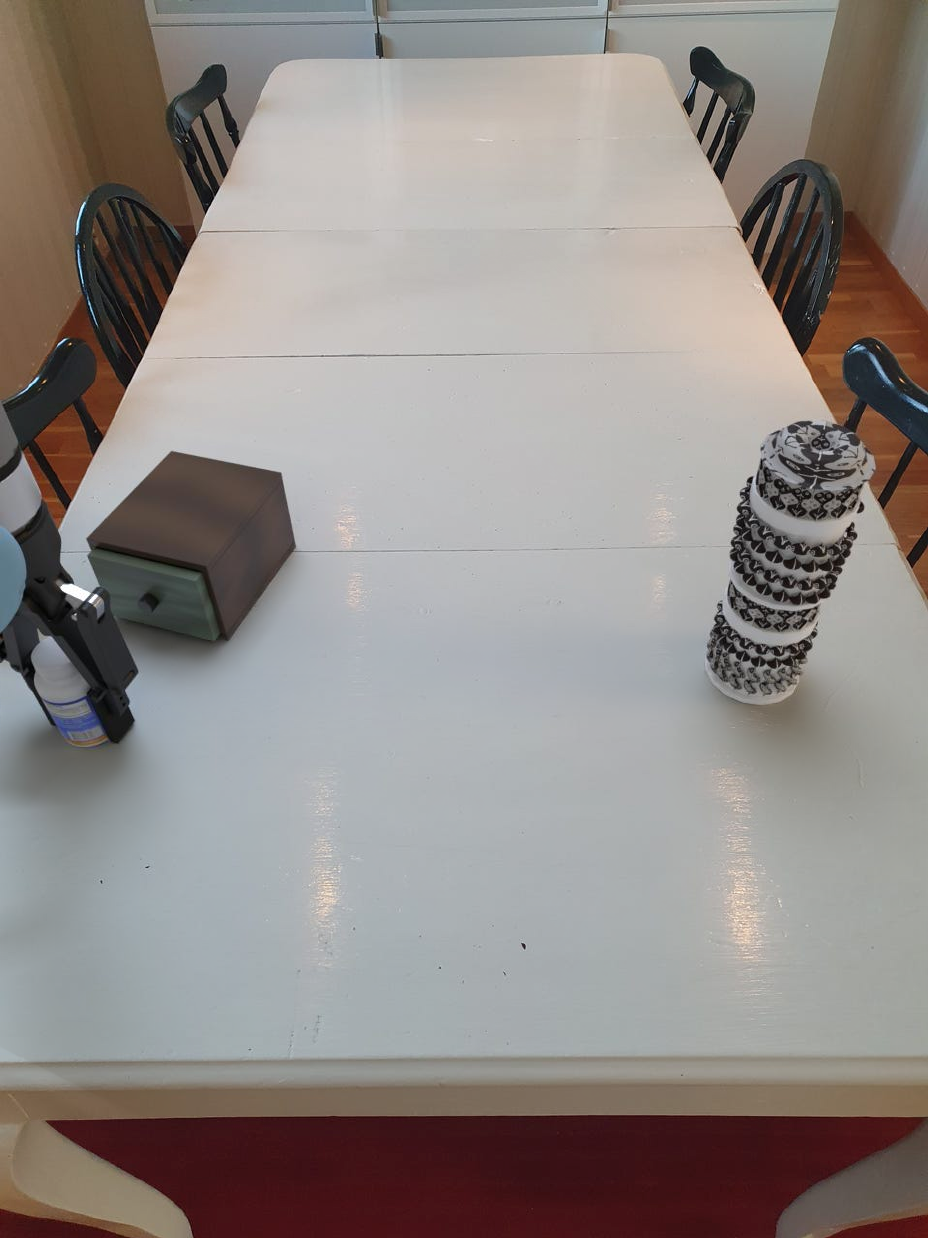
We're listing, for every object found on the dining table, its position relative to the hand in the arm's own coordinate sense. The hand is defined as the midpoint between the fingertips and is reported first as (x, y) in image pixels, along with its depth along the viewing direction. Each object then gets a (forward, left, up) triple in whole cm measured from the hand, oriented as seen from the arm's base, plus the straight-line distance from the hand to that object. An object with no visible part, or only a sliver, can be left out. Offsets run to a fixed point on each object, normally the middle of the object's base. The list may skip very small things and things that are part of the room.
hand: (92, 722), depth 80 cm
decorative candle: (+56, -18, -1) cm, 59 cm away
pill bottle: (0, 0, -1) cm, 1 cm away
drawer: (+12, +13, +1) cm, 18 cm away
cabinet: (+13, +15, 0) cm, 20 cm away
